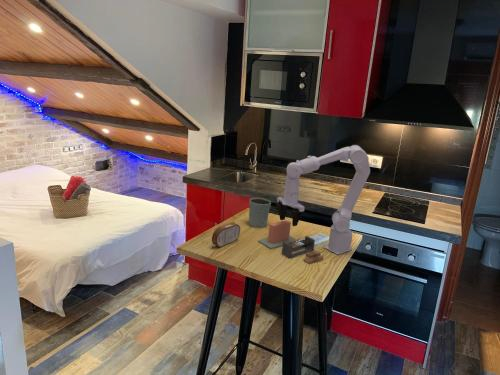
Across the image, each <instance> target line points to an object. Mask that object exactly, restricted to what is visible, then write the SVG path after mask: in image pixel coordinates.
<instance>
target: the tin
mask: <svg viewBox="0 0 500 375" xmlns="http://www.w3.org/2000/svg"><path fill="white" fill-rule="evenodd" d="M240 233H241V226H240V225H239V224H238V223H236V222H234V221H233V222H229V223H226V224H223V225H220V226H217V227H216V229H214V231H213V233H212V236H211V243H212V244H213V245H214V246H216V247H218V248H222V247H224V246H227V245H229V244H232V243H234V242H236V241H237V240H238V238H239V237H240Z"/></svg>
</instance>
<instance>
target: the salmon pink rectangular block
mask: <svg viewBox="0 0 500 375" xmlns="http://www.w3.org/2000/svg"><path fill="white" fill-rule="evenodd" d="M291 224H292V222H291V221H290V220H288V219H285V220H280V221H277V222H273V223H270V224H269V225H268V237H267V238H268V242H269V243H271V244H273V243H276V242H280V241H284V240H288V239H289V236H290V232H291V226H292V225H291Z"/></svg>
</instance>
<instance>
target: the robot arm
mask: <svg viewBox="0 0 500 375" xmlns="http://www.w3.org/2000/svg"><path fill="white" fill-rule="evenodd" d="M369 159H370V158H369V156H368V154H367V153H366V150H364V149H363V148H362V147H361V146H359V145H358V144H352V145H351V146H345V147H342V148H340V149H337V150H334V151H332V152H329V153H327V154H324V155H320V156H319V157H317V156H315V155H308V156H307V157H306V158H304V159H301V160H298V159H297V160H296V161H295V162H289V163H288V164H287V167H286V177H285V179H286V180H285V183H284V185H285V186H284V195H283V197H282V196H279V197H276V202H277V203H276V204H275V206H276V208H277V212H278V216H279V221H286V217H287V216H286V215H287V211H288V210H287V209H288V207H290V208H293V209H291V210H290V212H291V215H292V222H291V224H292V225H291V226H292V227H296V226H297V227H298V224H299V221H300V220H301V217H302V216H303V215H304V213H305V206H304V205H302V204H301V203H300V202H298V201H299V192H300V177H301V175H306V174H309V173H311V172H314V171H317V170H319V169H320V167H321V166H322V165H327V164H329V163H333V162H336V161H340V160H341V161H345V162H349V161H350V162H351V163H352V165H353V167H354V169H355V174H354V176H353V178H352V181H351V182H350V185H349V187H348V189H347V192H346V193H345V196H344V198H343V200H342V203H341V205H340V206H339V207H338V209H337V210H336V211H335V212H334V213H333V214H332V216H331V221H332V223H333V224H332V225H331V226H330V231H329V239H328V243H327V244H328V245H324V246H323V248H324V249H326V250H327V251H329V252H332V253H334V254H335V255H341V254H344V253H347V252H350V251H352V250H353V248H351V245H352V240H353V233H352V230H351V229H350V226H351V225H350V224H351V223H350V222H351V220H352V214H353V210H354V208H355V206H356V205H357V204H356V203H357V201H358V200H359V198H360V195H361V193H362V191H363V189H364V187H365V184H366V183H367V181H368V180H367V179H368V178H369V176H370V174H371V167H370V162H369Z"/></svg>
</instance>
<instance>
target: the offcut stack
mask: <svg viewBox="0 0 500 375" xmlns="http://www.w3.org/2000/svg"><path fill="white" fill-rule="evenodd" d="M323 260H324V254H322V253H321V251H319V250H317V249H315V250H314V251H311V252H307V253H306V254H305V257H304V258H303V260H302V262H304V263H305V264H307V265H311V264H314V263H318V262H321V261H323Z"/></svg>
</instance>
